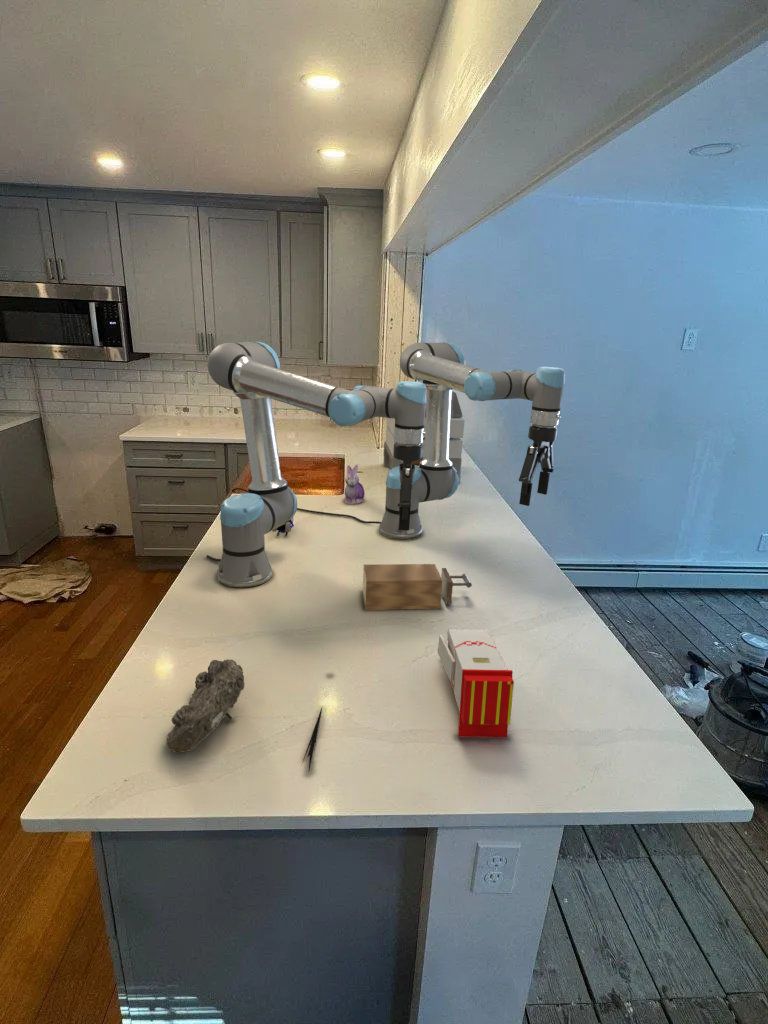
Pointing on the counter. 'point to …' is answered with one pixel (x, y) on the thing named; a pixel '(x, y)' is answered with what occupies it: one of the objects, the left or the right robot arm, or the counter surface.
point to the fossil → (206, 705)
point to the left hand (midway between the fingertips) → (403, 520)
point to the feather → (313, 740)
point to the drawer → (451, 584)
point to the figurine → (353, 487)
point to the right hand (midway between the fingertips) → (533, 499)
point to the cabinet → (401, 586)
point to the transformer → (454, 439)
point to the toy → (478, 682)
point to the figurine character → (285, 528)
